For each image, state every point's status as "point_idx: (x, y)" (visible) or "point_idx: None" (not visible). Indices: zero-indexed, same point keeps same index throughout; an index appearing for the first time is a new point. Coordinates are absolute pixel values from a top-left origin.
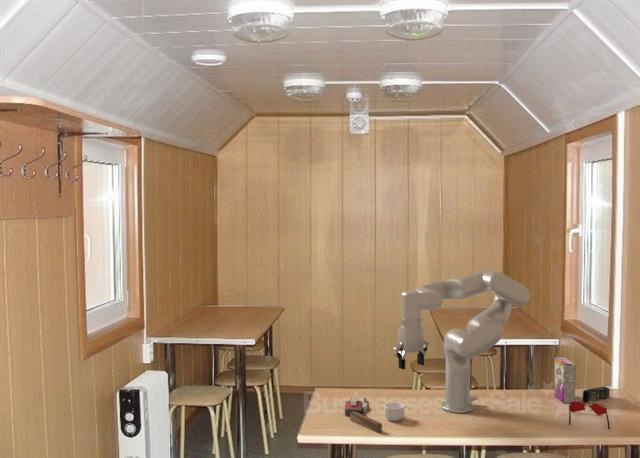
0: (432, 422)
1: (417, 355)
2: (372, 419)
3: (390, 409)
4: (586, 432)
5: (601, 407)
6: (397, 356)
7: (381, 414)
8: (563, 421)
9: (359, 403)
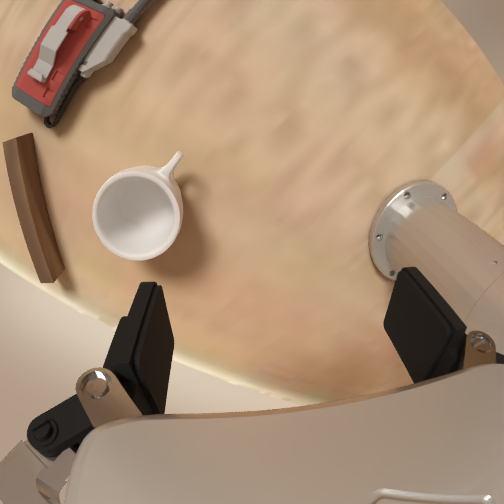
0: (249, 286)
1: (441, 323)
2: (38, 239)
3: (102, 239)
4: None
5: None
6: (70, 409)
7: (135, 127)
8: None
9: (81, 42)
